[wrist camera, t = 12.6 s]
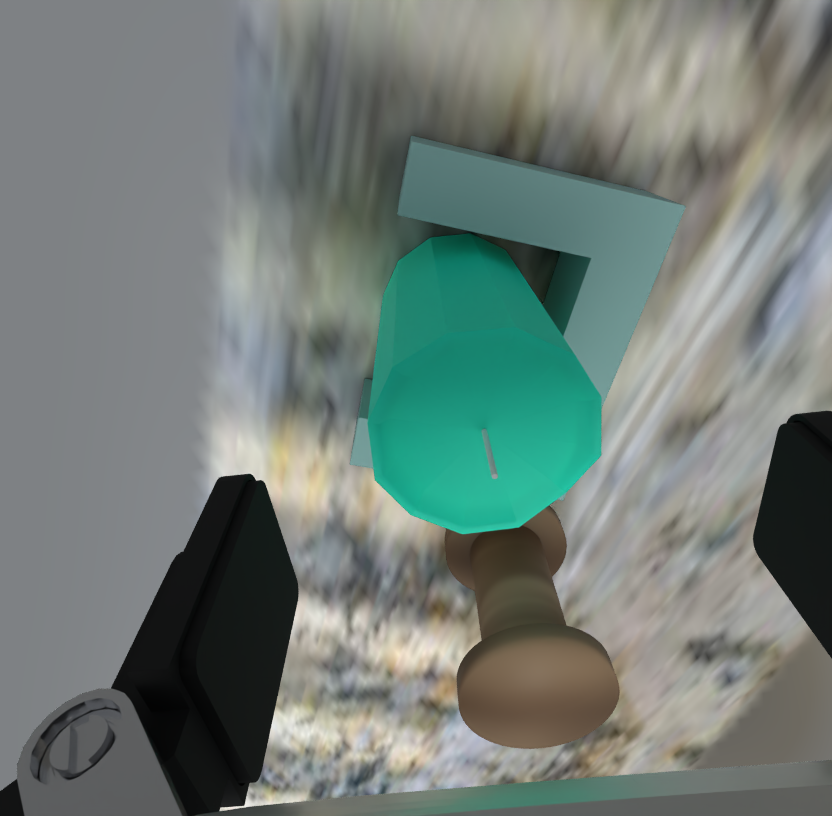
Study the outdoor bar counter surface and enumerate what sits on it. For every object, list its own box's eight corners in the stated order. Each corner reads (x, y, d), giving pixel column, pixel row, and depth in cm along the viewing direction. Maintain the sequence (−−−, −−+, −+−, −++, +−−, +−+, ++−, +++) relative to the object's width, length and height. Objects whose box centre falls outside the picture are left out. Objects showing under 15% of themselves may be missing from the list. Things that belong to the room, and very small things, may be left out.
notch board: (410, 135, 20) (411, 141, 17) (645, 191, 21) (685, 206, 18) (356, 421, 26) (349, 464, 23) (545, 455, 27) (562, 500, 24)
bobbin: (438, 498, 28) (451, 654, 20) (561, 484, 28) (622, 638, 20) (450, 586, 31) (465, 754, 23) (562, 575, 31) (616, 741, 23)
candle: (412, 391, 25) (417, 600, 15) (359, 265, 23) (317, 409, 12) (544, 346, 24) (650, 534, 14) (504, 208, 22) (598, 311, 11)
